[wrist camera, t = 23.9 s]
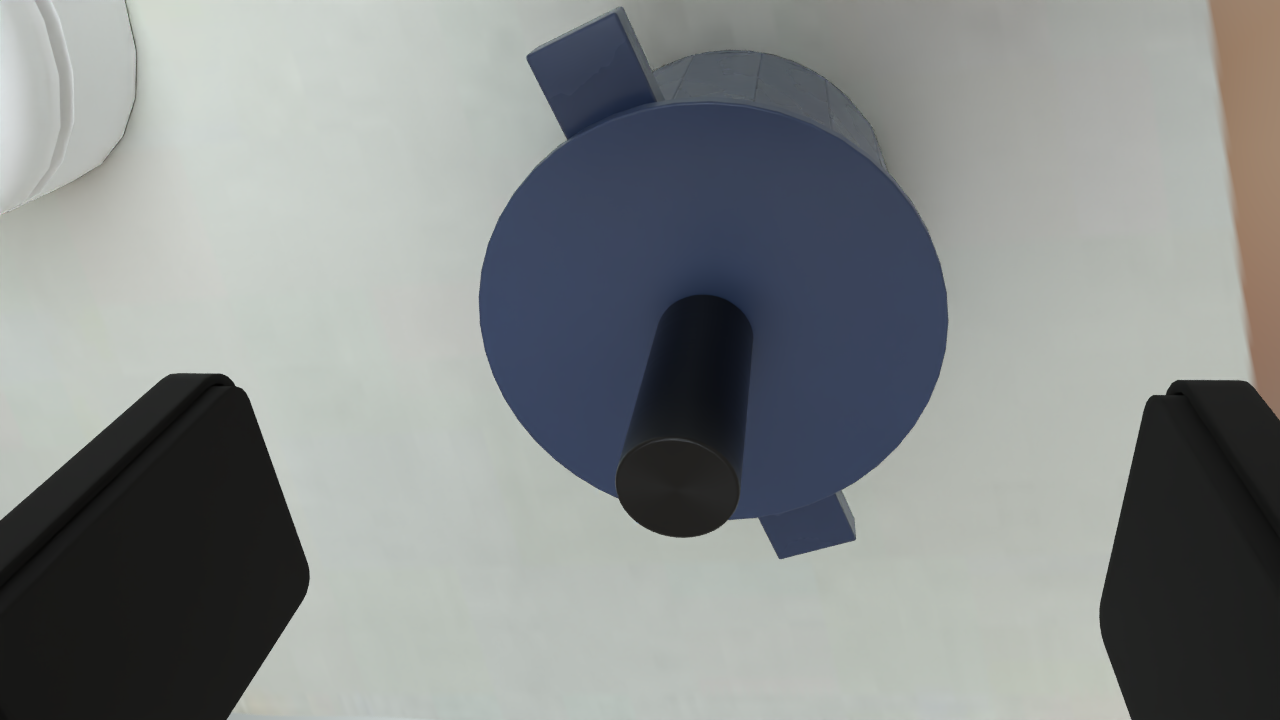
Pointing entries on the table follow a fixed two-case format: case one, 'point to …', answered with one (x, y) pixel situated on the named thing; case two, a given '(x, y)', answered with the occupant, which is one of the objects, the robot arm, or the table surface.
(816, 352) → the lid
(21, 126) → the honey pot
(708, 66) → the pot
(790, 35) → the table surface
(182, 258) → the table surface
